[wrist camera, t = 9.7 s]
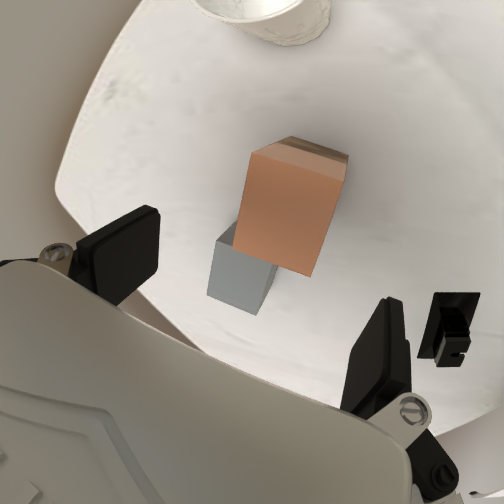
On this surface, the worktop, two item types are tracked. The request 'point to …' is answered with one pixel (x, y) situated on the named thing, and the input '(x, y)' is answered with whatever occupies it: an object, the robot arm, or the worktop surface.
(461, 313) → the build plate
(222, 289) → the slate grey block
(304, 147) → the walnut block
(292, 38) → the white cup
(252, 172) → the terracotta block
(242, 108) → the worktop surface
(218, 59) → the worktop surface
